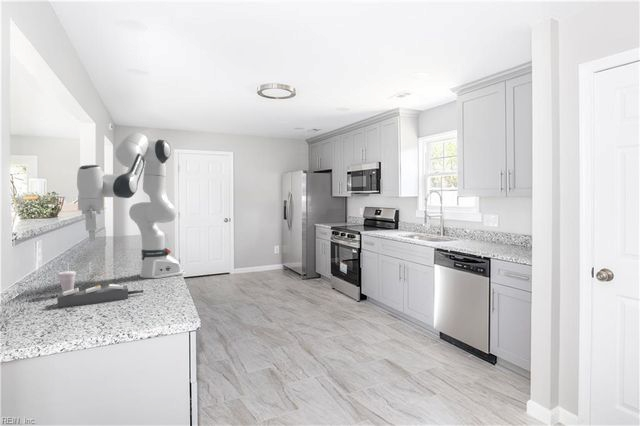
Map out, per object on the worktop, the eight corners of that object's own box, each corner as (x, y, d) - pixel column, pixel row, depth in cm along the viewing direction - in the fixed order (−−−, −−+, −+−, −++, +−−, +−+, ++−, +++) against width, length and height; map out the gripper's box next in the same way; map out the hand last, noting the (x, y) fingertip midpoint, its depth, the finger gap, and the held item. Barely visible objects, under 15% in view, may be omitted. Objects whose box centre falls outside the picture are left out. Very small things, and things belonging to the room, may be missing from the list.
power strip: (142, 292, 162) (142, 283, 162) (144, 296, 156) (143, 286, 156) (59, 303, 146) (59, 292, 146) (57, 307, 140) (57, 297, 140)
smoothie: (67, 296, 155) (66, 264, 155) (55, 296, 157) (53, 263, 156) (80, 292, 162) (79, 261, 161) (68, 292, 163) (66, 260, 162)
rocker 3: (122, 287, 155) (122, 284, 155) (122, 289, 152) (123, 286, 152) (108, 286, 152) (109, 283, 152) (108, 288, 149) (109, 285, 149)
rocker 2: (100, 287, 151) (99, 284, 150) (100, 289, 148) (99, 286, 148) (86, 291, 148) (85, 288, 148) (86, 293, 145) (85, 290, 145)
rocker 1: (78, 289, 147) (78, 287, 147) (78, 291, 144) (77, 289, 144) (64, 294, 144) (63, 291, 144) (63, 296, 142) (62, 293, 141)
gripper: (100, 206, 139) (101, 242, 140) (100, 204, 156) (101, 236, 157) (80, 206, 136) (81, 243, 137) (82, 205, 153) (83, 237, 154)
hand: (92, 240), depth 147 cm, fingers open, 5 cm apart
